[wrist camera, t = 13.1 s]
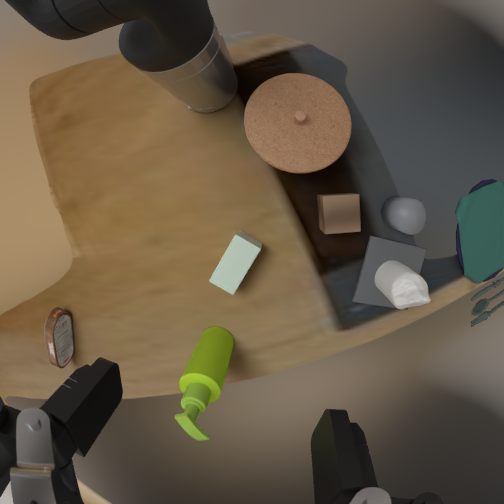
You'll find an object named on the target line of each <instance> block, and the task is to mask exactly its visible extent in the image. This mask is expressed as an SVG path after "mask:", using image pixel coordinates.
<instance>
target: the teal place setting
mask: <svg viewBox="0 0 504 504" xmlns="http://www.w3.org/2000/svg"><path fill="white" fill-rule="evenodd" d="M455 214H456V217H457V220H458V224H457V230H456V247H457V254H458V258H459V262H460V265H461V267H462V268H463V270H464V276H466V277H467V278H469V279H471V280H472V281H474V283H480V282H482V281H483V282H485V281H487V280H489V279H492V278H494V277H495V276H496V275H497V274H498V273H499V272H500V271H501V270H502V269H503V268H504V184H503V183H502V182H501V180H499V181H496V180H493V179H490V180H483V181H481V182H480V183H479V184H477V185H475V186H474V187H473V188H472V189H471V191H470V192H469V194H468V195H466V196H464V197H462V198H461V199H460V200H459V202H458V205H457V207H456V211H455ZM503 280H504V278H502V279H501V280H497V281H496V282H495V283H494V282H493V284H492V285H490V286H488V287H486V288H484V289H483V290H481V291H480V292H478V293H477V294H475V295H474V296H473V297H472V299H471V300H474V299H476V298H477V297H479V296H480V295H482V294H483V293H485V292H487V291H488V290H490V289H491V288H493V287H495V288H496V286H498V285H499V284H500V283H501V282H502V281H503ZM503 293H504V290H503V291H501V292H500V293H498V294H497V295H495V296H494V297H492V298H491V299H482V300H480V301H479V302H478V303H477V304H476V305H475V307H474V308H473V310H472V315H478V314H480V313H482V312H483V311H484V310H485V309H486V307H487V306H488V304H489V302H490V301H491V300H493V299H495V298H497V297H498V296H500V295H502V294H503ZM503 305H504V301H503V302H501V303H500V304H498V305H497V306H495V307H494V308H493V309H492V310H491V311H487V312H486V311H485V312H483V313H482V314H481V315H479V316H478V317H477V318H475V319H474V320H472V321H471V323H472V322H473V321H474V322H473V323H472V324H473V325H472V324H471V327H472V326H474V325H476V324H478V323H480V322H482V321H483V320H486V319H487V318H488V316H490V314H492V313H493V312H494V311H495V310H497V309H498V308H500V307H501V306H503Z"/></svg>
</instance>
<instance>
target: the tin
mask: <svg viewBox="0 0 504 504" xmlns="http://www.w3.org/2000/svg"><path fill="white" fill-rule="evenodd" d="M44 335H45V341H46V347H47V353H48V358H49V361H50V363H51V364H53V365H55V366H57V367H59V368H64V367H65V366H66V365H67V364H68V363H69V361H70V360H71V358H72V355H73V351H74V341H73V328H72V318H71V315H70V314H69V313H68V312H67V311H65V310H63V309H61V308H59V307H58V308H55V309H53V310H52V311H51V312H50V313H49V315H48V317H47V319H46V322H45V326H44Z"/></svg>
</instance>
